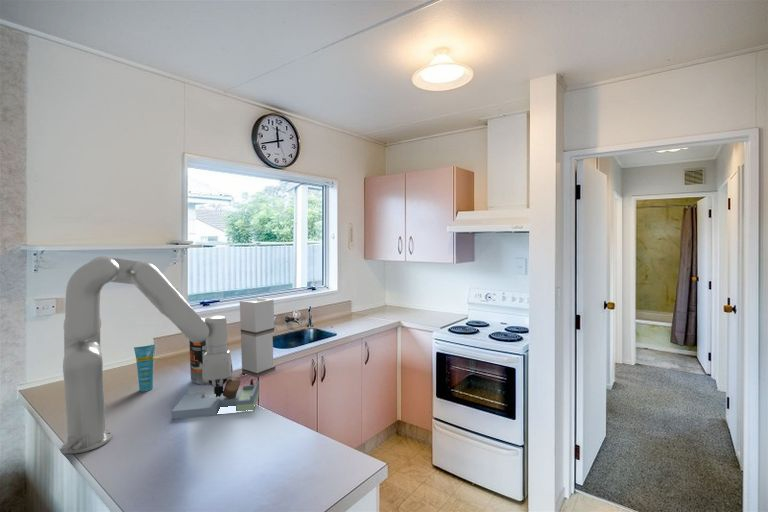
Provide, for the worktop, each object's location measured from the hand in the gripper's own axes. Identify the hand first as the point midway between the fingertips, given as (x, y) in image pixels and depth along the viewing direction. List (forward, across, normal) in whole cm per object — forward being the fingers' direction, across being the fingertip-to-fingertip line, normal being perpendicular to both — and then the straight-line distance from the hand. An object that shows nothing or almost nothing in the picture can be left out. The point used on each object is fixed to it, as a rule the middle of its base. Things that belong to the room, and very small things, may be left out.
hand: (218, 395), depth 146 cm
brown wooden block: (0, +4, 0) cm, 4 cm away
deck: (+4, 0, 0) cm, 4 cm away
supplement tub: (+4, -11, +31) cm, 33 cm away
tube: (+4, -35, +24) cm, 43 cm away
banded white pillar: (+5, +10, +36) cm, 38 cm away
